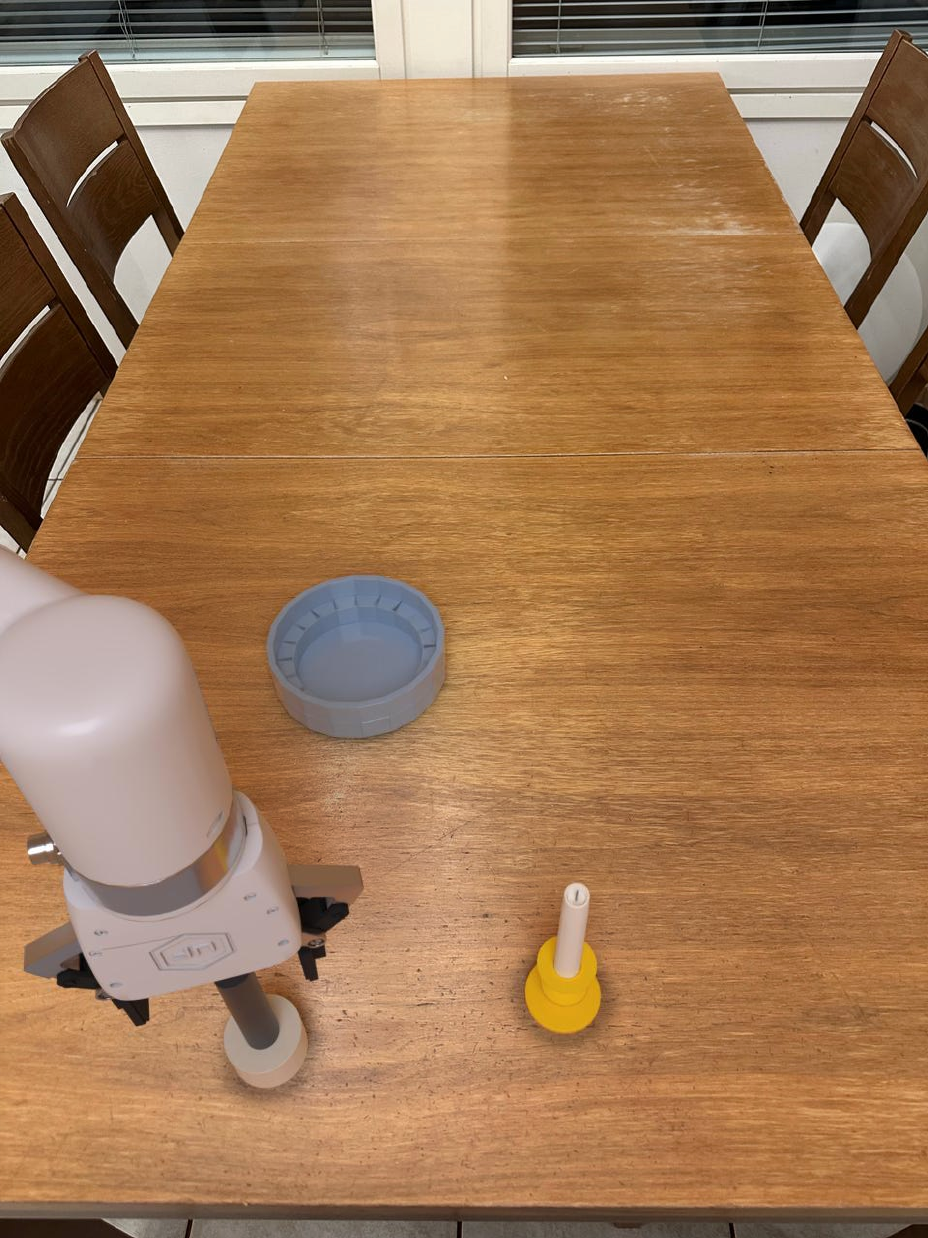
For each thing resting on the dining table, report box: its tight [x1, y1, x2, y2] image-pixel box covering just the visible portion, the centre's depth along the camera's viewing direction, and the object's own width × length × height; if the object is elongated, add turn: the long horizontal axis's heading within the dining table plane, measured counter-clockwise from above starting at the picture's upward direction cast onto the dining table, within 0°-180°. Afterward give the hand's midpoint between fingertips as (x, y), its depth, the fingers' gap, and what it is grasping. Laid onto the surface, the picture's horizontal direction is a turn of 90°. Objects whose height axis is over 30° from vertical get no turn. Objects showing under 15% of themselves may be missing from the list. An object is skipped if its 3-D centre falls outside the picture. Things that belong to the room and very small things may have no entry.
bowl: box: [265, 574, 447, 739], centre depth 83 cm, size 15×15×5 cm
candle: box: [524, 882, 602, 1035], centre depth 59 cm, size 5×5×16 cm
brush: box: [213, 971, 309, 1089], centre depth 58 cm, size 5×5×13 cm
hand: (227, 978), depth 55 cm, fingers open, 9 cm apart
